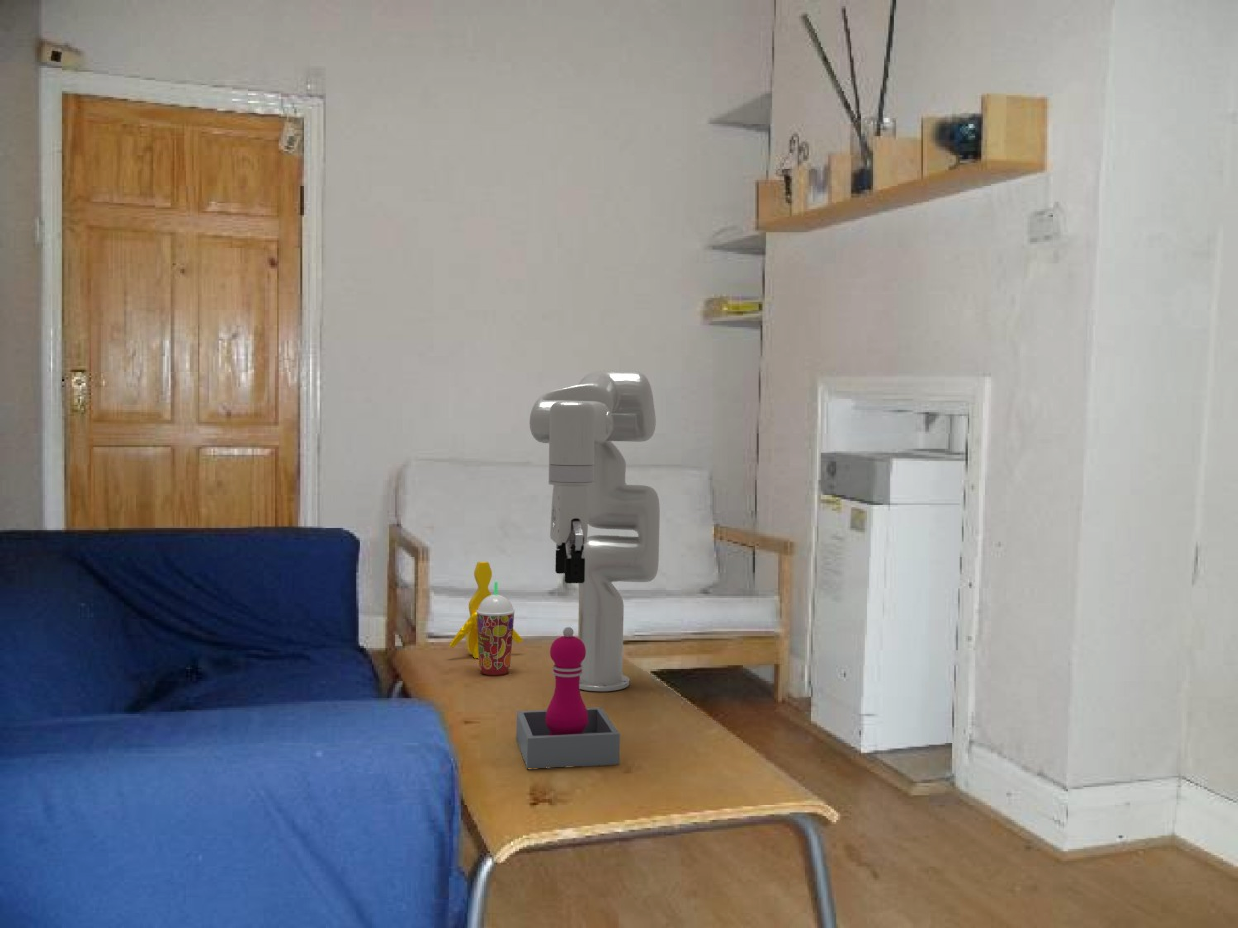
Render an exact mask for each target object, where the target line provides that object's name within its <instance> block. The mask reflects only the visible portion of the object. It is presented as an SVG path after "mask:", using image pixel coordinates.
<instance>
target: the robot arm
mask: <svg viewBox="0 0 1238 928" xmlns="http://www.w3.org/2000/svg"><path fill="white" fill-rule="evenodd" d="M654 403H655V402H654V395H653V391H652V386H651V384H650V381H649V379H648V378H647V376H646V375H645V374H644V373H641V372H639V371H630V370H629V371H628V370H627V371H626V370H625V371H621V370H619V371H617V370H616V371H615V370H598V371H597V370H596V371H593V372H590V373H588V374H586V375H584V377H583V378H582V379H581V380H580V381H579V383H578V384H574V385H571V386H568V387H563V388H558V389H554V390H551V391H548V392H545V393H543V394H541V396H539V398H538V399H537V400H535V403H534V404H533V407H532V408H531V411H530V414H529V415H530V416H529V429H530V432H531V435H532V437H533V438H534V439H535V440H536V441H537V442H539V443H542V444H548V446H549V447H548V485H552V486H553V487H552V488H553V489H552V497H551V512H550V514H551V515H550V530H549V531H550V532H549V536H550V539H551V540H552V541H553V542H554V543H555V544H556V546H555V547H556V549H555V565H554V567H555V568H554V569H555V573H556V574H561V575H562V574H564V582H565V583H566V584H577V585H578V620H577V621H578V624H577V625H578V626H577V627H578V628H577V629H578V631H577V632H578V633H577V638H579V639H580V640H581V641H582V642H583V643H584V645H585V649H586V656H585V658H584V660H583V661H582V662H581V664H580V665H582V666H583V668H582V672H583V673H582V674H581V675H580V680H579V690H581V691H583V690H584V691H588V692H614V691H620V690H623V689H625V688H627V687H629V686H630V678H629V677H628V676H626V675H625V674H623V659H624V658H623V656H624V655H623V651H624V615H625V614H624V610H625V609H624V608H625V604H624V600H623V598H622V596H621V594H620V592H619V590H617V588H616V586H615V585H614V583H615V582H625V583H626V582H627V583H649V582H652V581H653V580H654V579H655V578H656V576H657V574H658V570H659V560H660V559H659V557H660V554H659V553H660V523H661V522H660V521H661V520H660V518H661V517H660V515H661V513H660V511H661V510H660V499H659V495H658V492H657V491H656V490H655V489H654V488H653V487H652V486H649V485H643V484H642V485H640V484H637V485H636V484H627V483H626V467H627V463H626V462H627V461H626V460H625V458H624V455H623V454H622V452H621V451H620V450H619V448H618V447H617V446H616V445H615V444H614V443H613V442H637V443H639V442H647V441H648V440H650V439H652V437H653V436H654V434H655V431H656V423H657V421H656V417H657V416H656V410H655V404H654ZM588 527H592V528H595V529H603V530H604V529H606V530H621V531H622V530H625V531H635V532H636V533H637V535H638V536H628V535H626V536H622V535H621V536H620V535H602V534H601V535H600V534H597V535H595V534H594V535H589V536H588V533H589V532H588V529H589V528H588Z"/></svg>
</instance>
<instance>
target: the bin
mask: <svg viewBox="0 0 1238 928" xmlns="http://www.w3.org/2000/svg"><path fill="white" fill-rule="evenodd" d="M586 709H587V713H588V724H587V726H586V728H585V729H584V730H583V731H582V733H584V734H569V735H548V734H549V733H551V731H550V730H549V728H548V727H547V725H546V723H545V718H546V712H547V709H539V710H538V709H537V710H533V709H532V710H517V711H516V730H515V731H516V733H515V734H516V736H515V739H517V740H516V742H518V743H517V745H519V746H518V748H519V747H520V748H519V751H520V750H521V751H520V754H521V753H522V754H521V756H523V757H522V759H523V758H524V760H523V762H524V761H525V762H524V764H526V765H525V767H527V768H546V767H547V769H549V768H548V767H565V768H567V767H566V766H582V767H598V766H599V765H600V766H613V765H614V766H615V765H617V764H618V765H620V751H621V750H620V749H621V747H620V746H621V745H620V743H621V742H620V741H621V739H620V738H621V733H620V732H619V731H618V729H617V728H616V726H615V725H614V724H613V722H612V721H611V719H610V717H608V715H607V713H606V712H605V710H604V708H602V707H586ZM527 768H526V769H527Z"/></svg>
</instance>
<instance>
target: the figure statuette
mask: <svg viewBox="0 0 1238 928" xmlns="http://www.w3.org/2000/svg"><path fill="white" fill-rule="evenodd" d="M473 575H474V580H475V582H476V585H477V590H476V591H475V593H474V594H473V595H472V597H471V599H469V602H468V611H469V618H468V619H467V620H466V622H465V623H464V624H463V625H462V626H461V628H460V629H459V630H458V632H457V633H456V635H455V636H454V638H453V639H452V640H451V641H450V643H449V644H448V646H449V647H450V648H451V649H454V648H455V647H456V646H457V645H458V644H459V643H460V642H461V641H462V640H463V639H464V638H465V637H466V638H465V643H466V645H465V646H466V649H467V651H468V654H469V655H470V654H471V655H472V657H474V659H476V658H479V650H478V628H477V613H476V611H477V609H478V608H479V606H480V603H481V602H482V601H483V600H484V599H485V598H486V597H488V596H490V595H492V593H491V592H490V590H489V585H490V583H491V580H492V577H493V572H492V568H491V565H490V563H489V562H488V561H477V563H476V565H475V568H474V572H473ZM523 640H524V639H522V637H521V636H520V634H518V632H517V631H516V630H515V629H514V628H513V636H512V641H514V642H515V643H516V644H520V643H522V642H523Z"/></svg>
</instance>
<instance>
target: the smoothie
mask: <svg viewBox="0 0 1238 928" xmlns="http://www.w3.org/2000/svg"><path fill="white" fill-rule="evenodd" d="M493 589H494V591H493V593H494V594H491V595H490V596H488V597H486V598H485V599H484V600H483V601H482V602H481V603H480V606H479V608H478V609H477V611H476V613H477V628H478V650H479V659H478V667H479V668H480V669H481V674H484V675H485V674H486V676H503V675H505V674H507V673H508V670H509V668H511V659H512V657H511V656H512V645H513V639H512V636H513V629H514V623H515V622H514V620H515V612H516V611H515V609H514V607H513V605H512V603H511V601H510V599H508V598H507V597H505V595H502V594H498V581H494V586H493Z"/></svg>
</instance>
